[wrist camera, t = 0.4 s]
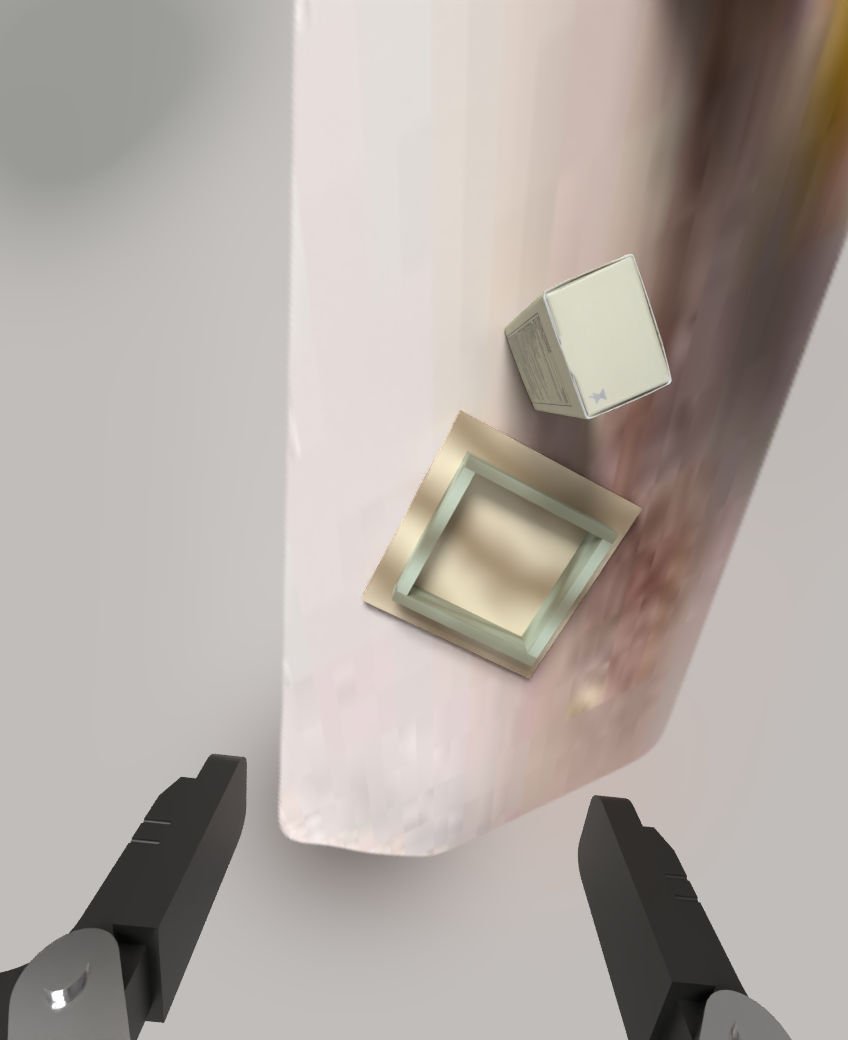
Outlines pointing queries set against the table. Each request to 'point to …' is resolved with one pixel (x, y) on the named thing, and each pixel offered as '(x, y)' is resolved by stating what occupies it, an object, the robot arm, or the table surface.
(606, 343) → the skincare box
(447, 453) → the socket stand
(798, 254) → the table surface
